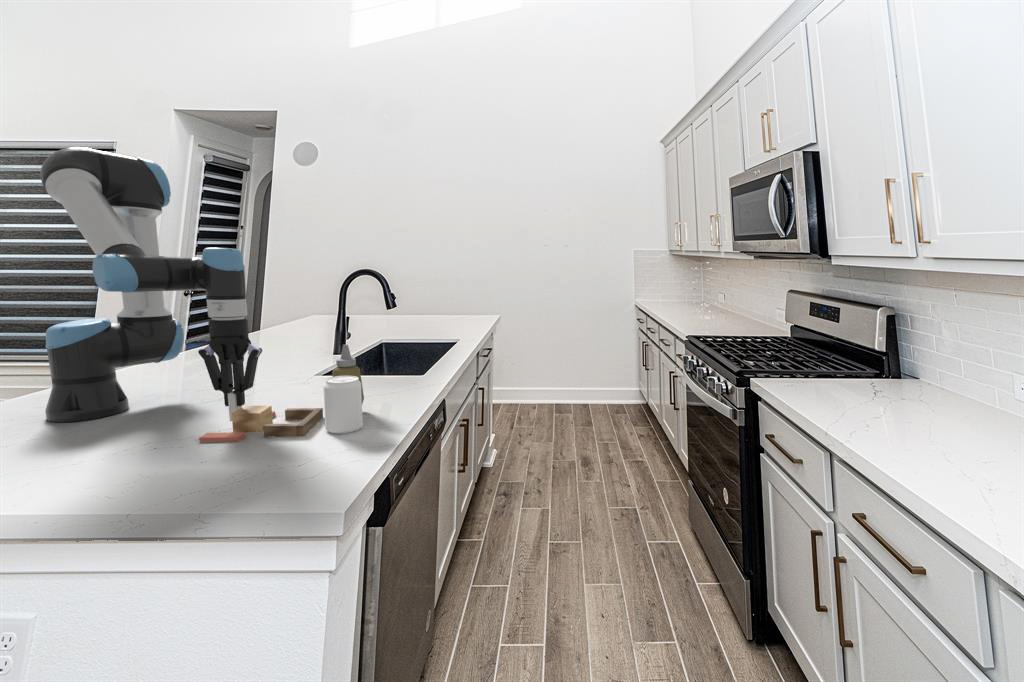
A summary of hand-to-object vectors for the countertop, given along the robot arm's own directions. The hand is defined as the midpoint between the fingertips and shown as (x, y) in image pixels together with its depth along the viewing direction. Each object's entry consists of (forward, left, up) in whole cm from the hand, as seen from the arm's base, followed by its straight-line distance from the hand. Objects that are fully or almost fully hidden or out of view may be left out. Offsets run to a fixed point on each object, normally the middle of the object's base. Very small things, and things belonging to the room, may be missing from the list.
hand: (236, 419), depth 103 cm
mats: (+1, +1, -2) cm, 2 cm away
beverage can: (+22, +11, -2) cm, 25 cm away
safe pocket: (+11, +7, -2) cm, 13 cm away
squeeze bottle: (+15, +20, -2) cm, 25 cm away
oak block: (+3, +2, -2) cm, 4 cm away
